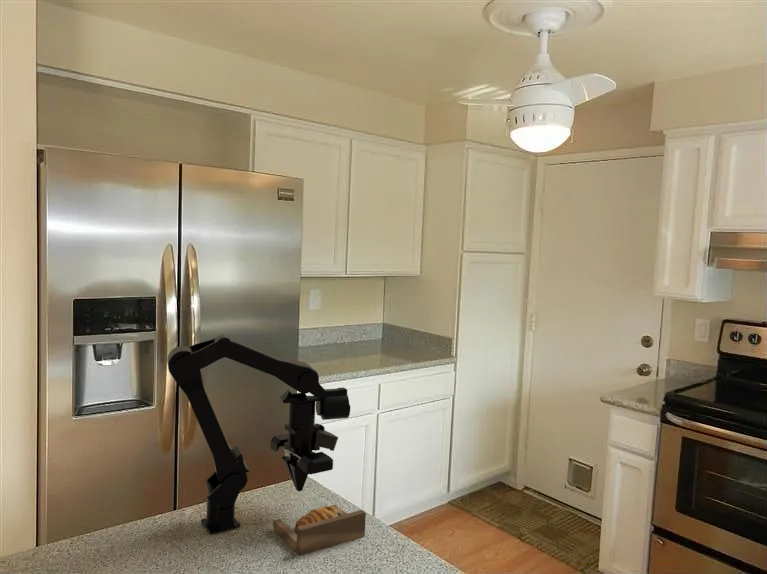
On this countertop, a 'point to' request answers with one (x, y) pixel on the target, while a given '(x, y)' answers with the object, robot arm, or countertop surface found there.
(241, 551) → the countertop surface
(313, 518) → the pastry
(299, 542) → the frame
